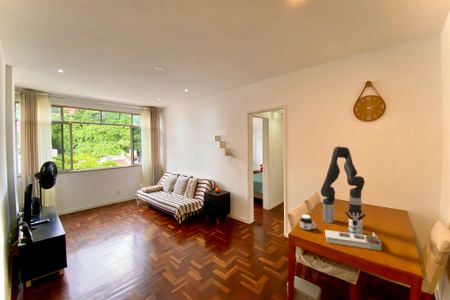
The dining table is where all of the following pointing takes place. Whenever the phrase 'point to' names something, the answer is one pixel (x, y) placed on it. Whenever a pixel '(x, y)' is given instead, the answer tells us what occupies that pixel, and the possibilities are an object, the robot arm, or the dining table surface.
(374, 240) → the walnut block
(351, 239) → the two-hole white board
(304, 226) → the spread jar
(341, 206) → the dining table surface
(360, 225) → the ink box
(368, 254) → the dining table surface
